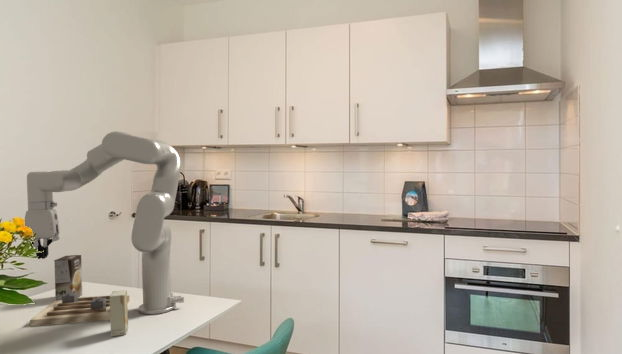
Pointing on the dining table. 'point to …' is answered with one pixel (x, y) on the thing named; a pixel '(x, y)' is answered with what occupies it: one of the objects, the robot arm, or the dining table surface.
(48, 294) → the dining table surface
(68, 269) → the coffee box
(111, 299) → the skincare box
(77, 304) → the wooden slatted tray
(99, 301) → the switch tab near
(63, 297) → the switch tab far
